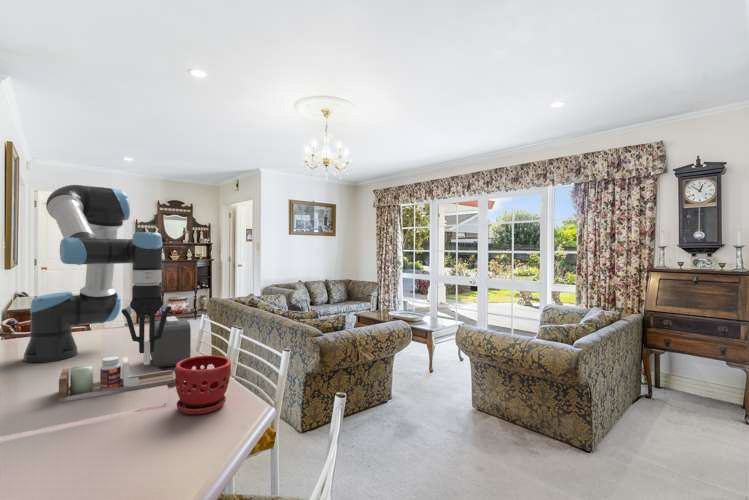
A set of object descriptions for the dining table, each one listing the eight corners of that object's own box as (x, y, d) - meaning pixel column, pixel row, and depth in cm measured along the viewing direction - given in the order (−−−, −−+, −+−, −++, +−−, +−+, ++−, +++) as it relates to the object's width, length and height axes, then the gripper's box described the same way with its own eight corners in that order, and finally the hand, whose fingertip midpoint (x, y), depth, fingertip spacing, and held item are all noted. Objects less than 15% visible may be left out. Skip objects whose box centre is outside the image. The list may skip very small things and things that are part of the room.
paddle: (122, 381, 113) (122, 357, 113) (138, 378, 115) (138, 355, 115) (123, 388, 107) (123, 363, 107) (140, 385, 109) (140, 361, 109)
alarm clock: (190, 365, 133) (190, 320, 133) (152, 371, 126) (153, 324, 126) (183, 354, 146) (183, 313, 146) (149, 358, 140) (149, 316, 140)
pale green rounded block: (70, 391, 105) (71, 366, 105) (93, 388, 108) (93, 363, 108) (69, 397, 101) (69, 371, 101) (92, 393, 104) (93, 368, 104)
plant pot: (174, 423, 89) (175, 372, 89) (175, 402, 101) (175, 357, 101) (233, 412, 95) (234, 365, 95) (227, 394, 107) (227, 352, 107)
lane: (62, 394, 106) (62, 368, 106) (171, 376, 122) (171, 354, 121) (58, 406, 98) (58, 379, 98) (176, 385, 113) (176, 362, 113)
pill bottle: (110, 391, 105) (110, 361, 105) (95, 390, 106) (96, 360, 106) (124, 385, 110) (124, 356, 110) (110, 384, 111) (111, 355, 111)
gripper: (121, 286, 106) (120, 370, 106) (173, 284, 114) (172, 363, 114) (120, 284, 112) (120, 363, 112) (170, 282, 120) (169, 357, 120)
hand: (146, 363), depth 113 cm, fingers closed
